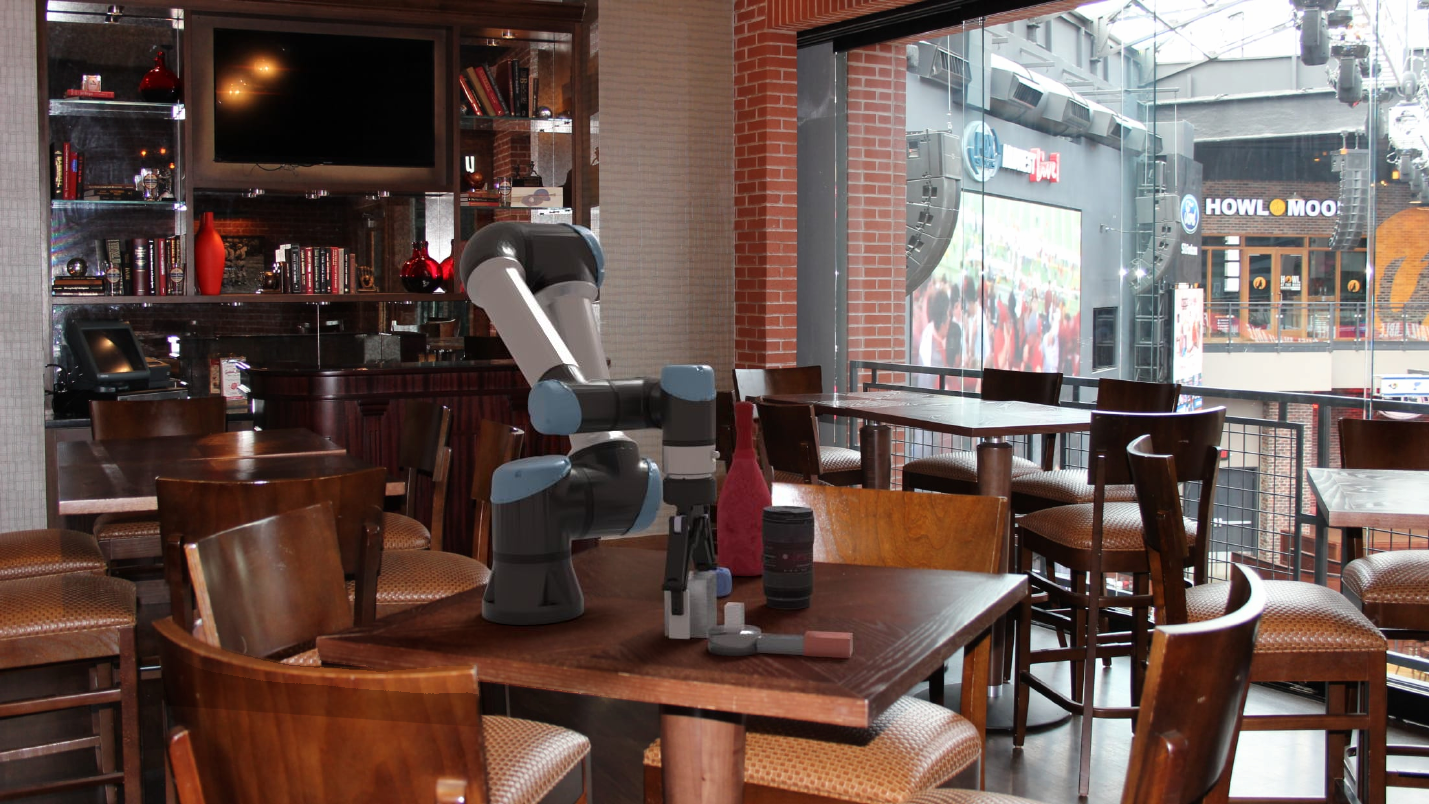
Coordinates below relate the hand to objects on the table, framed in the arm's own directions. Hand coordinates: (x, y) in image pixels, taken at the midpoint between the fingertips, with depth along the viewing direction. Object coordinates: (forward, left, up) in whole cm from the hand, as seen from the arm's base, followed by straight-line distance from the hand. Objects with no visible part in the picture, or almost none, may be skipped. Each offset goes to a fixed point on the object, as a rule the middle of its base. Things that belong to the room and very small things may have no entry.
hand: (691, 626), depth 173 cm
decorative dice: (-2, +25, -1) cm, 25 cm away
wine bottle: (-1, +43, -1) cm, 43 cm away
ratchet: (+14, -8, -1) cm, 16 cm away
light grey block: (0, 0, -1) cm, 1 cm away
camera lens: (+10, +19, -1) cm, 22 cm away
